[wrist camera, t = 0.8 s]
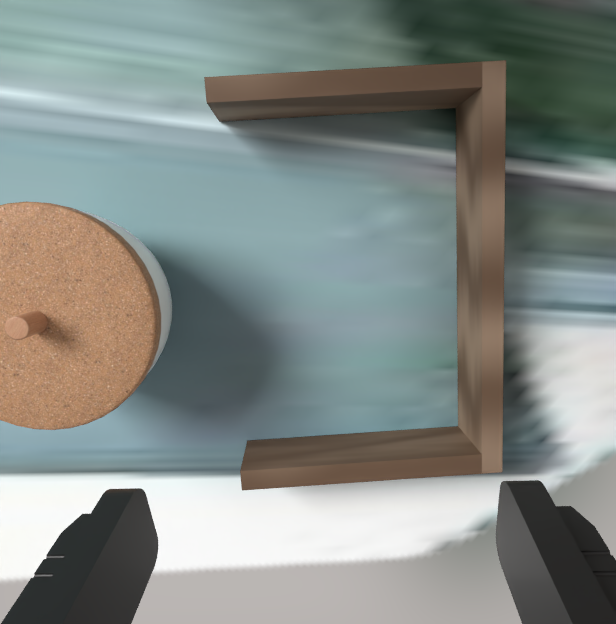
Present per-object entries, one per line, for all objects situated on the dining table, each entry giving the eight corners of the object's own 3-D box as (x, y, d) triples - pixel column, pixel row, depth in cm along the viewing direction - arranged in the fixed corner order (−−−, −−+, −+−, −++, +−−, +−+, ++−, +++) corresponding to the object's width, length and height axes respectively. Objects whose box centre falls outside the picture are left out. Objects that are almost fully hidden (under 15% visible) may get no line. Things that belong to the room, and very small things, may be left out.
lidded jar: (-14, 320, 29) (-159, 360, 20) (74, 174, 28) (-37, 144, 18) (134, 412, 30) (64, 490, 21) (225, 276, 29) (192, 296, 20)
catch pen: (217, 100, 27) (204, 77, 23) (475, 85, 27) (506, 60, 24) (248, 457, 31) (242, 490, 27) (476, 442, 31) (502, 472, 27)
